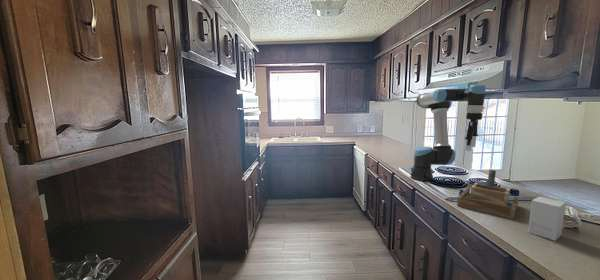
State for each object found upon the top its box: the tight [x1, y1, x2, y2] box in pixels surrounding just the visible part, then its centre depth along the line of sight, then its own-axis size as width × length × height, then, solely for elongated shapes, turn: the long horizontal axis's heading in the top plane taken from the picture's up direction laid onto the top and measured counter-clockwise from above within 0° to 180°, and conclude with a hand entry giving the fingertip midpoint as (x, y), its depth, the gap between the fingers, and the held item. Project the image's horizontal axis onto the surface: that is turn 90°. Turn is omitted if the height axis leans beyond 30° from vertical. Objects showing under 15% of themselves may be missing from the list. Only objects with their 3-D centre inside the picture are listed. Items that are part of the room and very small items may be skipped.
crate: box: [470, 169, 511, 206], centre depth 142 cm, size 10×16×17 cm, turn 46°
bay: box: [456, 187, 519, 220], centre depth 140 cm, size 22×24×6 cm
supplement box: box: [527, 196, 567, 242], centre depth 110 cm, size 9×9×15 cm
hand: (470, 148), depth 150 cm, fingers open, 13 cm apart
